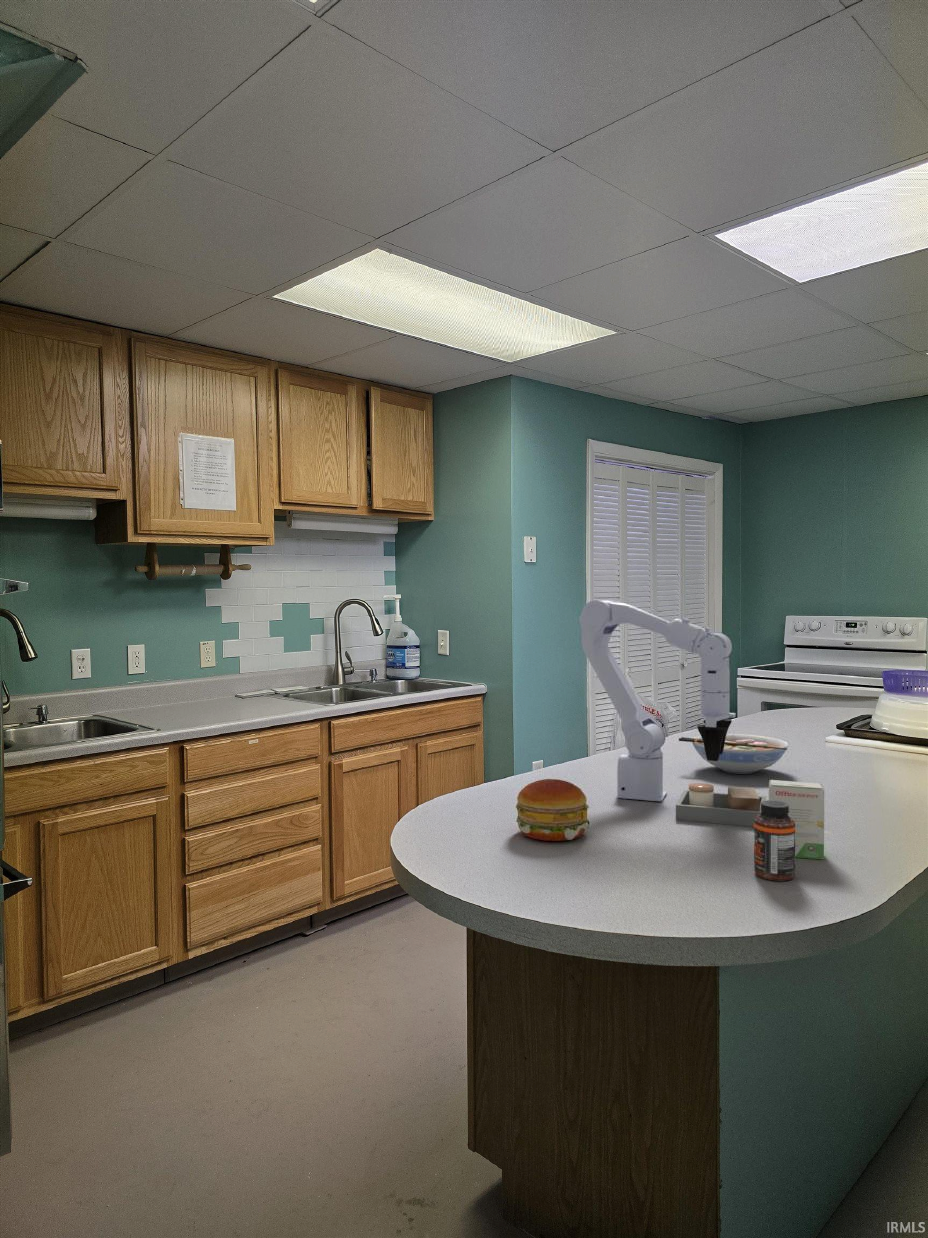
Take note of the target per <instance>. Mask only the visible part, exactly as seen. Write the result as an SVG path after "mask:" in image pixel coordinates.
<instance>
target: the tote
mask: <svg viewBox="0 0 928 1238" xmlns="http://www.w3.org/2000/svg"><path fill="white" fill-rule="evenodd" d="M758 796H759V798H760V810H759V811H750V810H739V809H728V793H723V792H714V791H713V807H704V806H693V805H689V789H688V790H685V789H683V791H682V794H681V795H680V797H679V799H678V800H677V802H676V804H675V820H676V821H677V820H679V821H689V822H697V823H698V822H700V823H708V824H709V823H710V824H721V825H729V826H730V825H733V826H743V827H752V828H754V821H755V818H756V816H758V815H759V814H761V802H763V801H767V797H766V796H762V795H758Z"/></svg>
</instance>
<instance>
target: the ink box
mask: <svg viewBox="0 0 928 1238" xmlns="http://www.w3.org/2000/svg"><path fill="white" fill-rule="evenodd" d="M768 781H769V782H768V800H775V801H782V802H785V803H787V804H788V805H789V813H788V816H790V817H791V818H792V819H793V820H794V821H795V858H799V859H813V860H825V859H824V858H825V857H824V856H825V788H824V785H823V784H822V783H815V782H806V781H805V782H804V781H802V782H801V781H790V780H778V779H777V780H776V779H769V780H768Z"/></svg>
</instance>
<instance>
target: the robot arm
mask: <svg viewBox="0 0 928 1238" xmlns="http://www.w3.org/2000/svg"><path fill="white" fill-rule="evenodd" d="M578 620H579V623H580V626H581V647H582V651H583V652H584V654H585V656H586V658H587V659H588V662H589V663H590V665H591V667H592V668H593V670H594V672H595V674H596V676H597V678H598V680H599V681H600V683H601V686H602V687H603V688H604V690H605V692H606V694H607V696H608V697H609V699H610V701H611V704H612V706H613V707H614V709H615V710H616V713H617V714H618V716H619V718H620V722H621V723H620V730H621V731H622V733H623V736H624V744H625V748H626V750H627V751H628V754H623V753H621V754H619V756H618V760H617V771H616V774H617V775H616V776H617V777H616V779H617V782H616V783H617V785H616V787H617V794H616V798H617V799H626V800H637V801H639V800H640V801H650V802H663V800H664V799H665V797H666V796H667V793H668V792H667V791H665V790H664V789H663V788H664V787H663V782H664V780H663V779H664V777H663V773H664V772H663V771H664V770H663V769H664V765H663V764H664V762H663V761H664V759H663V758H664V757H663V756H664V754H663V752H662V750H661V748H662V747H663V746H664V744H665V741H666V731H665V730H664V728H663V727H662V725H661V724H659V723H658V722H656V721H655V719H654V718H653V716H652V715H651V714H650V713H649V712H648V711H647V710H645V709H644V707H643V706H642V704H641V702H640V701H639V698H638V697H637V695H636V694H635V692H634V690H633V688H632V686H631V685H630V682H629V681H628V680H627V677H626V676H625V673H624V672H623V670H622V669H621V667H620V665H619V664H618V661H617V660H616V658H615V656H614V654H613V652H612V651H611V649H610V647H609V643H610V640H611V637H612V635H613V632H614V631H615V630H616V628H617V627H619V625H620V624H621V625H623V624H631V625H633V626H636V627H639V628H641V629H645V630H647V631H651V632H654V633H656V634H659V635H662V636H663V637H664V639H665V641H666V643H667V644H668V645H670V646H673V647H675V648H678V649H680V650H683V651H684V652H685V651H686V652H688V653H691V654H694V655H698V656H699V658H700V665H701V666H700V667H701V668H700V711H699V717H700V718H702V719H703V723H704V724H698V725H697V731H698V732H699V734H700V735H699V736H701V737H702V740H703V743H704V748H705V753H706V758H707V760H708V761H718V759H719V755H720V754H722V753H723V750H724V744H725V739H726V734H728V731H729V728H730V726H731V724H732V719H731V718H736V714H737V713H736V712H730V694H731V693H730V691H731V690H730V686H731V685H730V682H731V681H730V680H731V679H730V678H731V677H730V673H731V672H730V657H729V656H730V654H731V653H732V651H733V650H732V649H733V644H732V641H731V639H730V638H729V637H728V636H727V635H726V634H723V633H722V632H721V631H714V632H712V628H711V627H708V626H706V627H705V628H704V627H701V626H700V625H696V624H693V623H692V622H690V619H689V618H687V617H682V619H680V618H675V619H673V620H671V621H669V620H666V619H664V618H662V617H660V616H657V615H656V614H652V613H651V612H648V611H646V610H643V609H640V608H639V607H636V606H634V605H632V604H631V605H630V604H628V603H624V602H617V601H616V600H613V599H604V600H599V599H593V600H590V601H588V602H587V603H586V604H585V605H584V606H583V609H582V611H581V613H580V616H579V619H578Z"/></svg>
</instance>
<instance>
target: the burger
mask: <svg viewBox="0 0 928 1238" xmlns="http://www.w3.org/2000/svg"><path fill="white" fill-rule="evenodd" d="M516 799H517V800H516V801H517V803H516V805H515V808H516V811H517V818H516V820H515V822H516V823H517V825H518V829H519V831H520V832H521V834H522V835H524V836H525V837H528V838H531V839H535V840H541V841H546V842H547V841H548V842H549V841H551V842H552V841H553V842H558V841H568V840H569V841H572V840H573V839H576V838H579V837H580V836H583V834H584V832H585V831H586V830H587V829H588V828H589V825H590V823H591V821H590V819H589V818H588V809H589V808H590V807H589V805H588V804H587V796H586V794H585V793H584V792H583V791H582V789H581V788H580V787H579V786H577V785H575V784H573V783H572V782H570V781H567V780H563V779H559V778H558V779H557V778H555V779H554V778H545V779H538V780H536V781H532V782H531V783H527V785H525V786H524V787H523V788H522V789H521V790H520V791H519V792H518V794H517V798H516Z"/></svg>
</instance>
